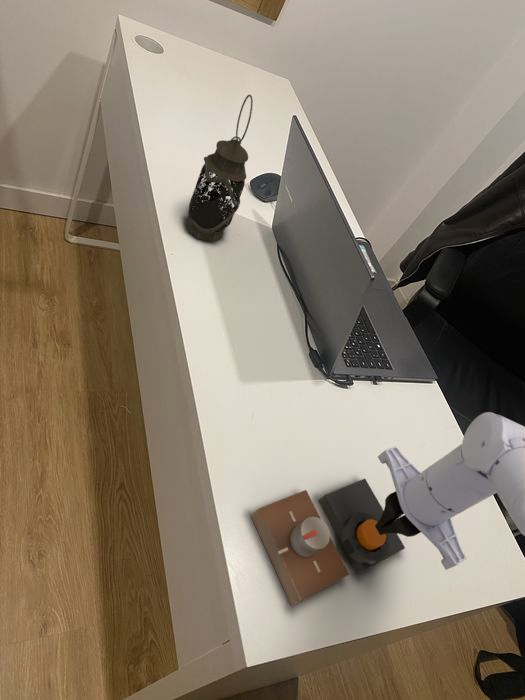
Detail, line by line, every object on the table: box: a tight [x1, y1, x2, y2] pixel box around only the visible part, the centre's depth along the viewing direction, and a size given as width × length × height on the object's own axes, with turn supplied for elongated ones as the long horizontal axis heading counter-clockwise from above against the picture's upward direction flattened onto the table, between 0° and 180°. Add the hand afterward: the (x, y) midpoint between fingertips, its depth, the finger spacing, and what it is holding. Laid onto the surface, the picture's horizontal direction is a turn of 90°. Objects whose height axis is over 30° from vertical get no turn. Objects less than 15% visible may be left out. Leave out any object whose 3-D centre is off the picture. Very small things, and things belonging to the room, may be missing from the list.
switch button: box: [356, 519, 386, 550], centre depth 67 cm, size 4×4×2 cm
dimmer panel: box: [251, 489, 350, 607], centre depth 65 cm, size 12×8×3 cm
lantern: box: [187, 94, 254, 243], centre depth 90 cm, size 10×9×28 cm
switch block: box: [318, 478, 406, 575], centre depth 70 cm, size 11×9×4 cm
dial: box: [290, 517, 331, 557], centre depth 63 cm, size 4×4×4 cm
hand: (382, 527), depth 65 cm, fingers closed
